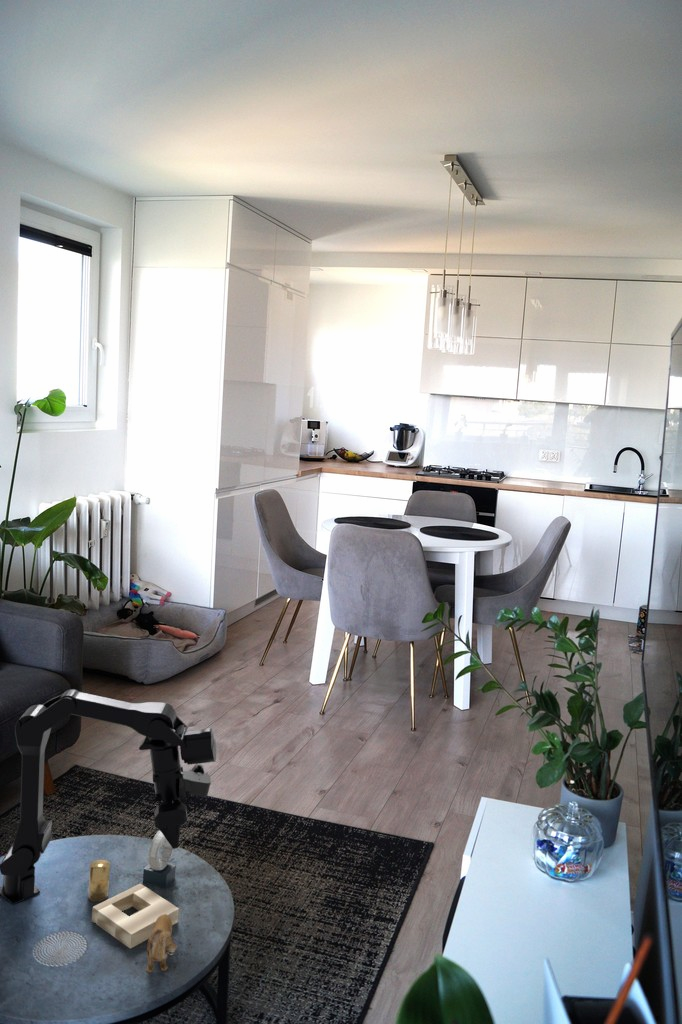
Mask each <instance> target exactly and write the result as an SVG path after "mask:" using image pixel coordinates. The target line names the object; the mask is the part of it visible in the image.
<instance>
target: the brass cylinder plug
mask: <svg viewBox="0 0 682 1024" xmlns="http://www.w3.org/2000/svg"><path fill="white" fill-rule="evenodd" d="M110 868H111V862H109V861H108V860H105V859H97V860H93V861H92V862H91V863H90V865H89V875H88V876H89V879H88V891H87V893H88V895H87V898H88V899H89V900H90V901H91V902H95V901H99V902H103V901H105V900H107V898H108V897H107V896H109V886H110V885H109V883H110V870H111V869H110ZM104 899H105V900H104ZM102 900H103V901H102Z"/></svg>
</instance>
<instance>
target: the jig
mask: <svg viewBox="0 0 682 1024" xmlns="http://www.w3.org/2000/svg"><path fill="white" fill-rule="evenodd" d="M132 907H133V909H135V910H137V911H136V912H134V913H133V914H131V915H130V916H129V915H127V913H124V910H125V911H127V910H128V909H130V908H132ZM91 911H92V912H91V922H93V923H94V924H95V923H96V924H95V925H97V926H98V927H99V928H101V929H102V930H103V931H105V932H107V933H108V934H109V935H111V936H112V937H113V938H114V939H116V940H118V941H119V942H120V943H121V944H123V945H124V946H126V947H127V948H129V949H133V948H135V947H136V946H138V945H139V944H142V943H144V942H145V941H148V940H149V938H150V937H151V935H152V933H153V930H154V927H155V922H156V920H157V918H158V917H159V916H161V915H164V914H167V915H168V916H170V917H171V920H172V926H174V925H176V924H177V923H178V922H179V912H180V907H177V906H176V905H174V904H172V903H171V902H170V901H168V900H167V899H165V898H163V897H162V896H160V895H159V894H157V893H156V892H155V891H152V889H150V888H148V887H147V886H145V885H143V884H141V883H139V884H136V885H135V886H132V887H130V888H128V889H127V890H124V891H122V892H120V893H118V894H116V895H115V896H112V897H110V898H108V899H105V900H103V901H101V902H100V903H97V904H96V905H94V906H93V907H92V910H91ZM122 911H123V912H122Z"/></svg>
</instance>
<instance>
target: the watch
mask: <svg viewBox="0 0 682 1024" xmlns="http://www.w3.org/2000/svg"><path fill="white" fill-rule="evenodd" d="M160 849H162V850H161V855H160V857H159V852H160ZM174 851H175V849H173V848H172V847H171V845H170V844H169V842H168V841H167V839H166V838H165V836H164V835H163V834H162V832H161V831H160V830H158V831H156V834H154V837H153V838H152V841H151V843H150V847H149V851H148V857H147V860H148V864H147V865H145V867H144V868H143V872H142V873H143V874H142V883H143V884H147V883H148V885H152V886H155V887H159V888H162V889H167V888H168V887H169V886H170V884H171V883H172V882H173V881H174V880H175V878H176V868H177V867H176V866H177V865H175V864H172V863H169V862H170V860H171V858H172V855H173V852H174Z"/></svg>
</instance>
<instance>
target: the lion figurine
mask: <svg viewBox="0 0 682 1024" xmlns="http://www.w3.org/2000/svg"><path fill="white" fill-rule="evenodd" d="M172 933H173V925H172V920H171V917H170V916H168V915H167V914H164V915H161V916H159V917H158V918H157V920H156V922H155V927H154V930H153V933H152V935H151V937H150V938H149V939H147V943H146V954H147V964H148V965H147V967H146V970H145V971H146V972H147V973H152V972H153V971H154V962H160V963H159V967H160V970H161V971H163V972H165V971H166V970H168V966H167V958H168V955H170V956H173V955H174V952H176V950H177V948H178V945H177V944H176V943H174V942H173V938H172Z"/></svg>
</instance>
